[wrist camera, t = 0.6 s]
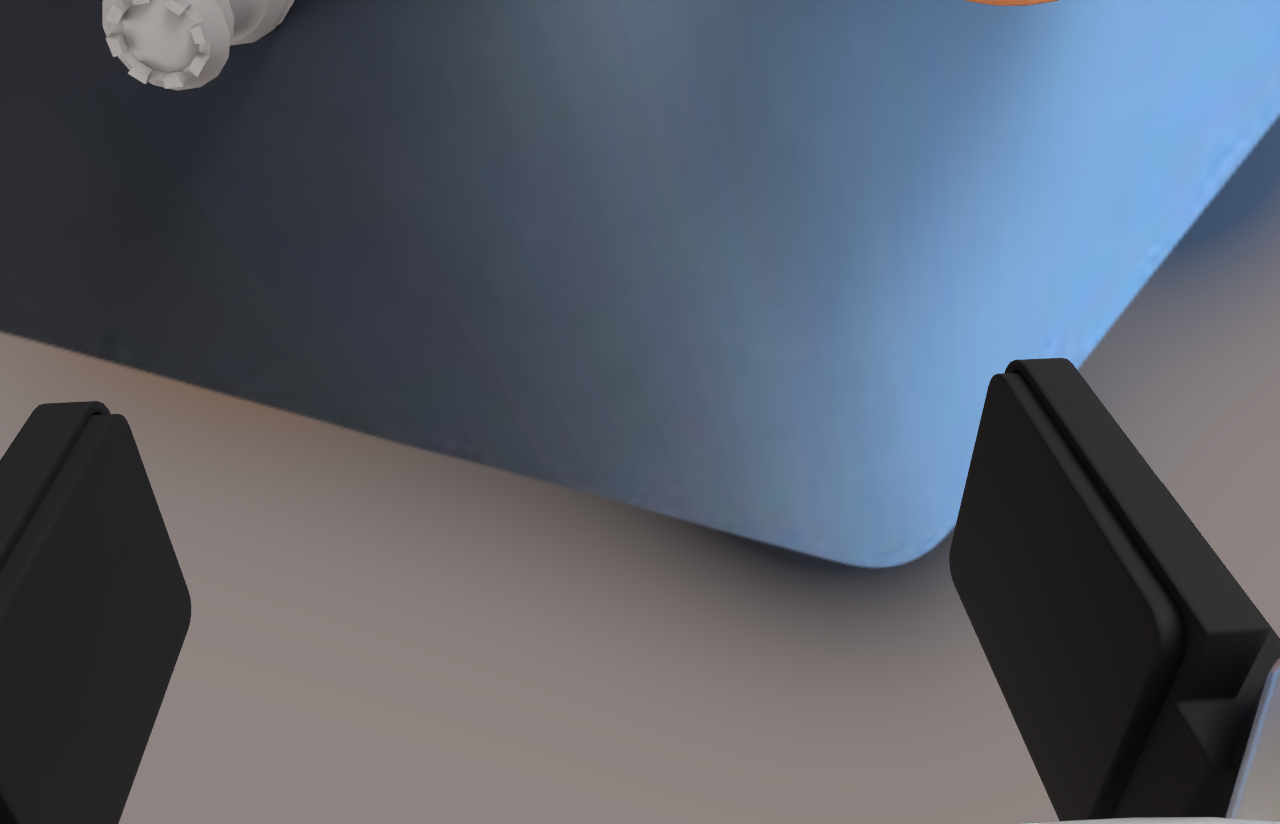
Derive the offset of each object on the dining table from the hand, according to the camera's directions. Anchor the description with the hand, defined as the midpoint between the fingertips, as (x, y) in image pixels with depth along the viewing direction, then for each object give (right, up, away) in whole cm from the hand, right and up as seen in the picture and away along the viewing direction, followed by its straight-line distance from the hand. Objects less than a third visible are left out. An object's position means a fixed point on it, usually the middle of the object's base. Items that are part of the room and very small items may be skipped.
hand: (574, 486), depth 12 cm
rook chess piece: (-13, +15, +22) cm, 30 cm away
